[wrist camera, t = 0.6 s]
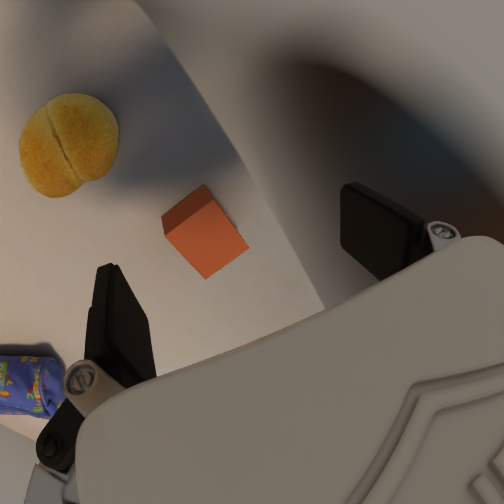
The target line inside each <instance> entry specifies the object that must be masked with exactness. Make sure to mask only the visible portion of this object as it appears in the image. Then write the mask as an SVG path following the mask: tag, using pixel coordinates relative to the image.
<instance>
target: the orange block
mask: <svg viewBox="0 0 504 504" xmlns="http://www.w3.org/2000/svg"><path fill="white" fill-rule="evenodd" d="M161 218H162V224H163V229H164V234H165V237H166V238H167V239H168V240H169V241H170V242H171V244H172V245H173V246H174V247H175V248H176V249H177V250H178V251H179V252H180V253H181V254H182V255H183V257H184V258H185V259H186V260H187V261H188V262H189V263H190V264H191V265H192V266H193V267H194V268H195V269H196V270H197V271H198V272H199V273H200V274H201V276H202V277H203V278H204V279H207V278H209V277H210V276H211V275H213V274H214V273H215V272H217V271H218V270H220V269H221V268H222V267H224V266H225V265H226V264H228V263H229V262H231V261H232V260H233V259H235V258H236V257H238V256H239V255H240V254H242V253H243V252H244V251H246V250H247V249H249V247H248V245H247V244H246V242H245V241H244V240H243V238H242V237H241V235H240V234H239V233H238V231H237V230H236V229H235V227H234V226H233V224H232V223H231V222H230V220H229V219H228V217H227V216H226V215H225V213H224V212H223V211H222V209H221V208H220V206H219V205H218V204H217V202H216V201H215V199H214V198H213V197H212V195H211V194H210V193H209V191H208V190H207V188H206V187H205V186H204V185H203V186H202V187H200V188H199V189H198V190H196V191H195V192H194V193H192V194H191V195H190V196H188V197H187V198H185V199H184V200H183V201H182V202H180V203H179V204H178V205H176V206H175V207H174V208H172V209H171V210H170V211H168V212H167V213H166V214H165V215H163V216H162V217H161Z"/></svg>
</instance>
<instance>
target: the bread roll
mask: <svg viewBox="0 0 504 504" xmlns="http://www.w3.org/2000/svg"><path fill="white" fill-rule="evenodd" d="M118 139H119V129H118V125H117V122H116V119H115V117H114V115H113V113H112V112H111V110H110V109H109V108H108V107H107V106H106V105H104V104H103V103H102V102H100V101H99V100H98V99H97V98H95V97H92V96H89V95H87V94H80V93H71V94H70V93H68V94H64V95H60V96H58V97H56V98H54V99H52V100H50V101H49V102H48V103H46V104H45V105H44V106H42V107H41V108H40V109H38V110H37V111H36V112H35V113H34V114H33V115H32V116H31V118H30V119H29V120H28V122H27V123H26V125H25V126H24V128H23V130H22V132H21V136H20V139H19V153H20V160H21V167H22V168H23V170H24V174H25V176H26V178H27V180H28V182H29V185H30V186H31V188H32V189H33V190H34V191H37V192H39V193H41V194H42V195H45V196H47V197H50V198H58V197H64V196H67V195H69V194H71V193H73V192H74V191H76V190H77V189H78V188H79V187H80V186H81V185H82V184H83V183H84V182H85V181H87V180H88V181H91V180H97V179H99V178H101V177H103V176H104V175H105V174H106V173H107V172H108V171H109V169H110V168H111V166H112V164H113V161H114V159H115V156H116V153H117V148H118Z"/></svg>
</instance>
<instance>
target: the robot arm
mask: <svg viewBox="0 0 504 504" xmlns="http://www.w3.org/2000/svg"><path fill="white" fill-rule="evenodd" d="M340 209H341V210H340V211H341V212H340V219H341V220H340V221H341V222H340V223H341V224H340V243H341V246H342V248H343V249H344V250H345V251H346V252H347V253H349V254H350V255H351V256H352V257H353V258H354V259H355V260H357V261H358V262H359V263H360V264H361V265H363V266H364V267H365V268H366V269H367V270H368V271H369V272H370V273H372V274H373V275H374V276H375V277H376V278H377V279H378V280H379V281H380V282H379V283H377V284H375V285H373V286H371V287H369V288H367V289H365V290H363V291H361V292H359V293H358V294H356V295H354V296H352V297H350V298H348V299H345V300H344V301H341V302H339V303H337V304H335V305H333V306H331V307H329V308H327V309H325V310H323V311H321V312H318V313H316V314H314V315H312V316H310V317H308V318H305V319H303V320H301V321H299V322H297V323H294V324H292V325H290V326H288V327H285V328H283V329H281V330H278V331H276V332H274V333H271V334H269V335H267V336H264V337H262V338H260V339H257V340H255V341H252V342H250V343H247V344H245V345H242V346H240V347H237V348H235V349H232V350H229V351H227V352H224V353H222V354H219V355H216V356H214V357H211V358H208V359H206V360H203V361H200V362H197V363H195V364H192V365H189V366H186V367H183V368H181V369H178V370H175V371H172V372H169V373H167V374H164V375H161V376H158V377H157V376H156V370H155V364H154V358H153V351H152V345H151V338H150V330H149V323H148V319H147V317H146V314H145V313H144V311H143V309H142V308H141V306H140V304H139V302H138V301H137V299H136V297H135V295H134V293H133V292H132V290H131V288H130V286H129V284H128V282H127V281H126V279H125V277H124V275H123V273H122V271H121V269H120V267H119V266H118V265H113V264H112V263H109V264H106V265H103V266H101V267H98V269H97V273H96V279H95V285H94V292H93V299H92V307H90V308H89V312H88V320H87V329H86V340H85V353H84V360H79V361H77V362H75V363H74V364H72V365H71V366H70V367H69V368H68V370H67V371H66V372H65V375H64V377H63V381H62V388H63V392H64V394H65V395H66V397H67V398H66V399H65V400H64V402H63V403H62V404H61V406H60V407H59V408H58V410H57V411H56V412H55V414H54V415H53V416H52V418H51V419H50V420H49V422H48V423H47V425H46V426H45V427H44V429H43V430H42V432H41V433H40V435H39V437H38V439H37V443H36V453H37V457H38V458H39V460H40V463H39V465H38V464H35V465H34V469H33V472H32V475H31V479H30V482H29V485H28V489H27V493H26V497H25V501H24V504H504V246H503V245H502V244H501V243H499V242H497V241H496V240H494V239H492V238H490V237H486V236H473V237H466V238H463V239H461V237H460V235H459V232H458V231H457V229H456V228H454V227H453V226H451V225H450V224H447V223H444V222H439V221H437V222H436V221H435V222H431V223H429V224H428V226H427V230H426V229H424V228H423V227H424V221H425V219H423V218H422V217H420V216H418V215H417V214H415V213H413V212H411V211H410V210H408V209H406V208H404V207H403V206H401V205H399V204H398V203H396V202H394V201H392V200H390V199H388V198H386V197H385V196H383V195H381V194H379V193H378V192H376V191H374V190H372V189H369V188H368V187H366V186H364V185H362V184H360V183H358V182H352V183H348V184H345V185H344V186H343V188H342V189H341V191H340Z"/></svg>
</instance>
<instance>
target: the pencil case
mask: <svg viewBox="0 0 504 504" xmlns="http://www.w3.org/2000/svg"><path fill="white" fill-rule="evenodd" d="M63 377H64V372H63V369H62V367H61V366H60V365H59V363H58V362H57V361H56V360H55V359H54V358H53V357H49V356H48V357H45V356H42V357H33V356H3V355H2V356H0V414H6V415H31V416H34V417H38V418H44V419H49V420H50V419H51V418H52V416H53V415H54V414H55V412H56V411H57V410H58V408H59V407H60V406H61V404H62V403H63V402H64V400H65V399H66V398H67V397H66V395H65V394H64V392H63V388H62V381H63Z"/></svg>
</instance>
